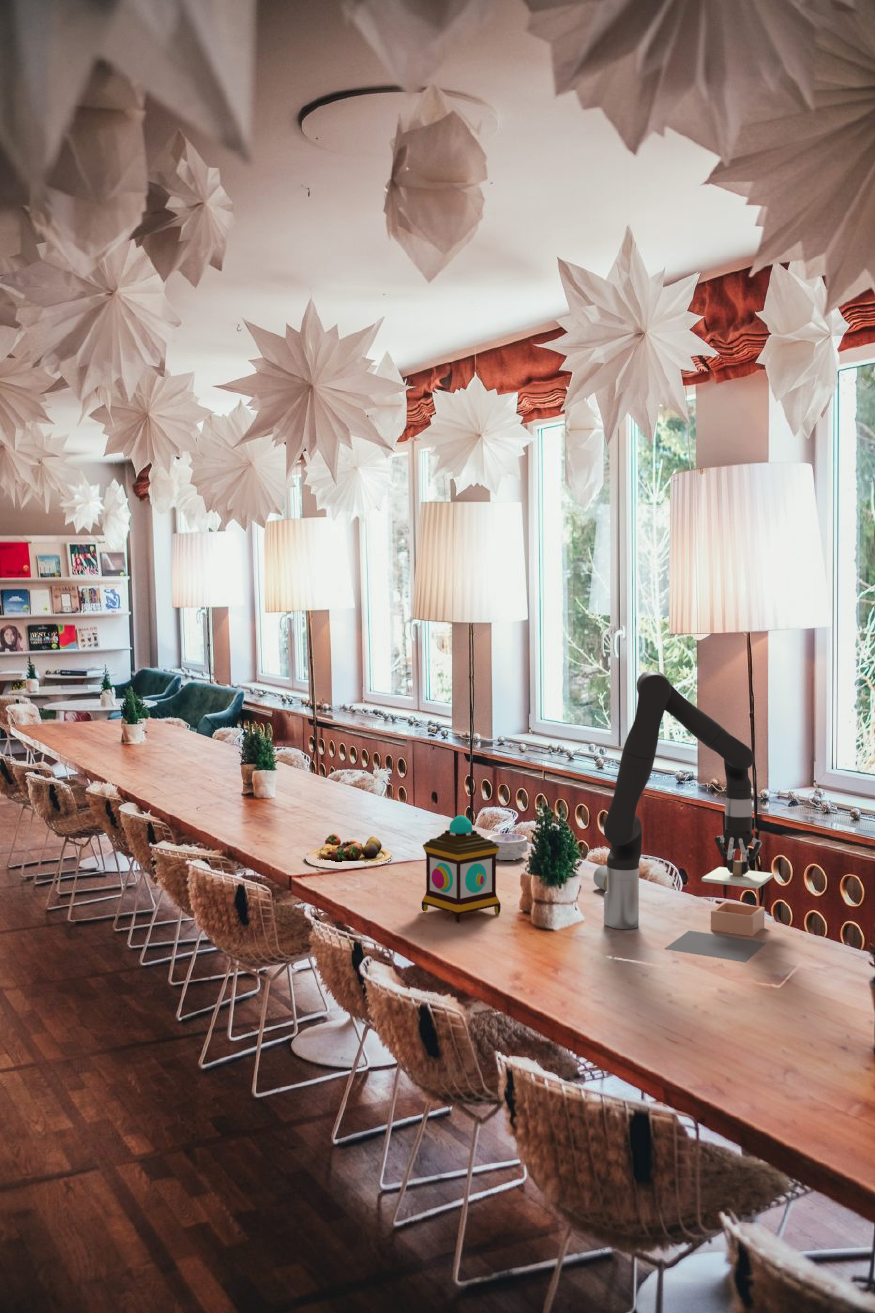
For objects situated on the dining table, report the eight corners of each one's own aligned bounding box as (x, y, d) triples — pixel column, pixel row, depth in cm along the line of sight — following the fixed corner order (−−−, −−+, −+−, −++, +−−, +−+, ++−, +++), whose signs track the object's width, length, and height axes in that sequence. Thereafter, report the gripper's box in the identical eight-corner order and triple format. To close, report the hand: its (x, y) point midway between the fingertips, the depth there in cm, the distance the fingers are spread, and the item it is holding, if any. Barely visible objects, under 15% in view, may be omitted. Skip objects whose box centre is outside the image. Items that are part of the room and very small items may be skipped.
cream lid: (701, 881, 320) (701, 863, 319) (719, 870, 333) (719, 853, 333) (757, 888, 311) (758, 870, 311) (773, 876, 325) (773, 859, 325)
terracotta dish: (710, 931, 321) (710, 910, 321) (723, 921, 331) (723, 901, 331) (752, 938, 315) (752, 916, 315) (764, 927, 325) (764, 907, 325)
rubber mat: (664, 950, 303) (664, 948, 303) (689, 932, 320) (689, 930, 320) (745, 964, 292) (745, 962, 292) (766, 944, 309) (766, 942, 309)
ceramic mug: (603, 894, 363) (604, 871, 362) (592, 888, 370) (593, 865, 370) (633, 892, 366) (633, 869, 366) (621, 886, 374) (622, 863, 373)
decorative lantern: (457, 926, 327) (457, 824, 326) (414, 912, 342) (414, 814, 341) (507, 914, 340) (507, 815, 338) (464, 901, 355) (464, 806, 354)
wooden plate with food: (298, 854, 424) (297, 832, 424) (380, 847, 434) (379, 826, 433) (314, 875, 394) (313, 852, 393) (401, 868, 403) (401, 845, 403)
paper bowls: (481, 861, 410) (481, 840, 410) (492, 852, 425) (492, 831, 424) (522, 864, 406) (522, 842, 405) (531, 855, 420) (531, 834, 420)
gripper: (710, 813, 322) (709, 873, 323) (759, 817, 315) (758, 879, 315) (718, 809, 328) (718, 867, 329) (766, 813, 321) (766, 873, 322)
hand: (738, 873), depth 322 cm, fingers closed on cream lid, 3 cm apart
